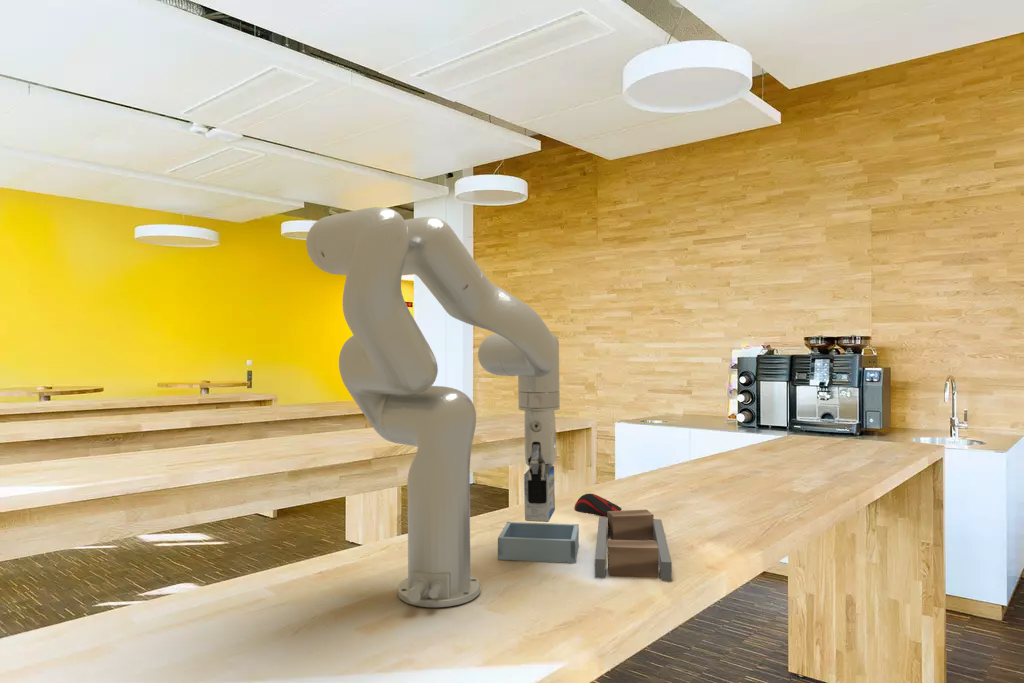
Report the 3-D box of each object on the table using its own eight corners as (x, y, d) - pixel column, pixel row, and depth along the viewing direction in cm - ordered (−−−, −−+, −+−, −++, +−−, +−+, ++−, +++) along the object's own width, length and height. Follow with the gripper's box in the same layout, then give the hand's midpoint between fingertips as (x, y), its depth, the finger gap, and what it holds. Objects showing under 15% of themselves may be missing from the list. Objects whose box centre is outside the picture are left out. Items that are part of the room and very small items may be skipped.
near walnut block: (658, 578, 111) (658, 548, 111) (608, 577, 112) (608, 546, 112) (655, 570, 115) (655, 540, 115) (607, 569, 116) (607, 539, 116)
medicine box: (549, 522, 121) (548, 473, 121) (524, 521, 122) (523, 472, 122) (555, 511, 129) (554, 465, 129) (531, 510, 130) (531, 464, 129)
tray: (575, 562, 119) (575, 541, 119) (497, 559, 121) (497, 537, 121) (578, 544, 129) (578, 524, 129) (507, 541, 131) (507, 521, 131)
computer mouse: (608, 520, 148) (608, 501, 148) (569, 511, 155) (569, 493, 155) (625, 514, 152) (625, 496, 152) (586, 506, 160) (586, 489, 160)
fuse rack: (671, 581, 110) (671, 562, 110) (595, 577, 112) (594, 559, 112) (661, 534, 136) (661, 519, 136) (599, 532, 137) (599, 517, 137)
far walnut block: (653, 540, 132) (653, 514, 132) (613, 542, 131) (613, 516, 131) (646, 534, 136) (646, 509, 136) (607, 536, 135) (607, 511, 135)
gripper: (555, 406, 116) (556, 509, 116) (563, 396, 133) (564, 486, 133) (511, 406, 117) (512, 508, 117) (524, 396, 134) (526, 485, 134)
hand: (540, 496), depth 125 cm, fingers closed on medicine box, 8 cm apart
